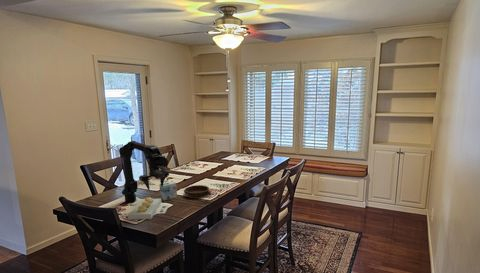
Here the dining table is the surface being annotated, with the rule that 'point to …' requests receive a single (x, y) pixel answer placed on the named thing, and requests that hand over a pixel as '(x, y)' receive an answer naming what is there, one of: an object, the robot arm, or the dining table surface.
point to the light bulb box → (168, 190)
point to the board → (148, 213)
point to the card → (162, 210)
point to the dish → (197, 191)
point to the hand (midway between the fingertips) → (155, 188)
